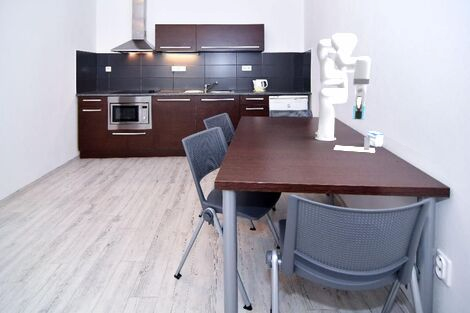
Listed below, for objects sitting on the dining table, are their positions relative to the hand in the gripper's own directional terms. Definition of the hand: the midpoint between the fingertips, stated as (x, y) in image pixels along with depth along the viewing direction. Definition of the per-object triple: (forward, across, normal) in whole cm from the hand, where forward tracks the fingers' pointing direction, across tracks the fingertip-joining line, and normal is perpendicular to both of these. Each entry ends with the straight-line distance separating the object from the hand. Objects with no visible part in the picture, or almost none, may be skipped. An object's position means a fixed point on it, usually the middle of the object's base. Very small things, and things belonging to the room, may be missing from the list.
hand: (358, 117), depth 195 cm
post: (+16, 0, -5) cm, 17 cm away
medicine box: (+18, +16, -8) cm, 26 cm away
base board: (+18, 0, +1) cm, 18 cm away
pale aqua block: (0, 0, 0) cm, 0 cm away
